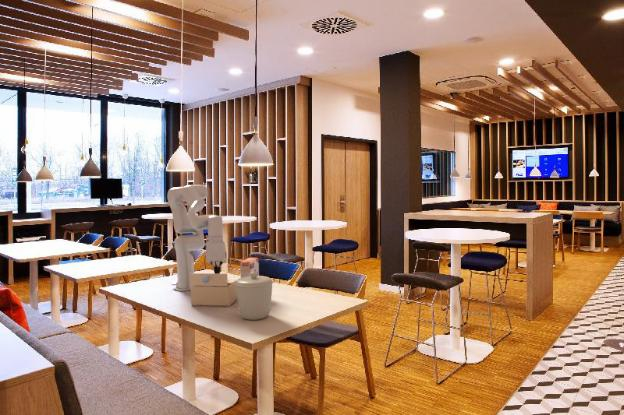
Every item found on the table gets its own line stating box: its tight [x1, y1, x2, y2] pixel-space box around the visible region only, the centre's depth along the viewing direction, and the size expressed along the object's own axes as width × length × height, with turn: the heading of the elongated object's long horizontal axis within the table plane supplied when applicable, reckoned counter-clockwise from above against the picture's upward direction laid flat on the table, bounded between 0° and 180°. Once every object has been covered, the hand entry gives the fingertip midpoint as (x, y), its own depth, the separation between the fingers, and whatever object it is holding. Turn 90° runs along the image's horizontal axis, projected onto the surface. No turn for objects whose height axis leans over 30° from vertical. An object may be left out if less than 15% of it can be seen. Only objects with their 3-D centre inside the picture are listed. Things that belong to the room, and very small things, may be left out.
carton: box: [190, 279, 238, 308], centre depth 233 cm, size 20×13×11 cm, turn 80°
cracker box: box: [239, 257, 260, 278], centre depth 241 cm, size 14×6×21 cm, turn 168°
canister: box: [234, 272, 275, 321], centre depth 207 cm, size 18×18×21 cm
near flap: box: [190, 272, 229, 286], centre depth 224 cm, size 19×6×6 cm
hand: (217, 273), depth 237 cm, fingers closed
